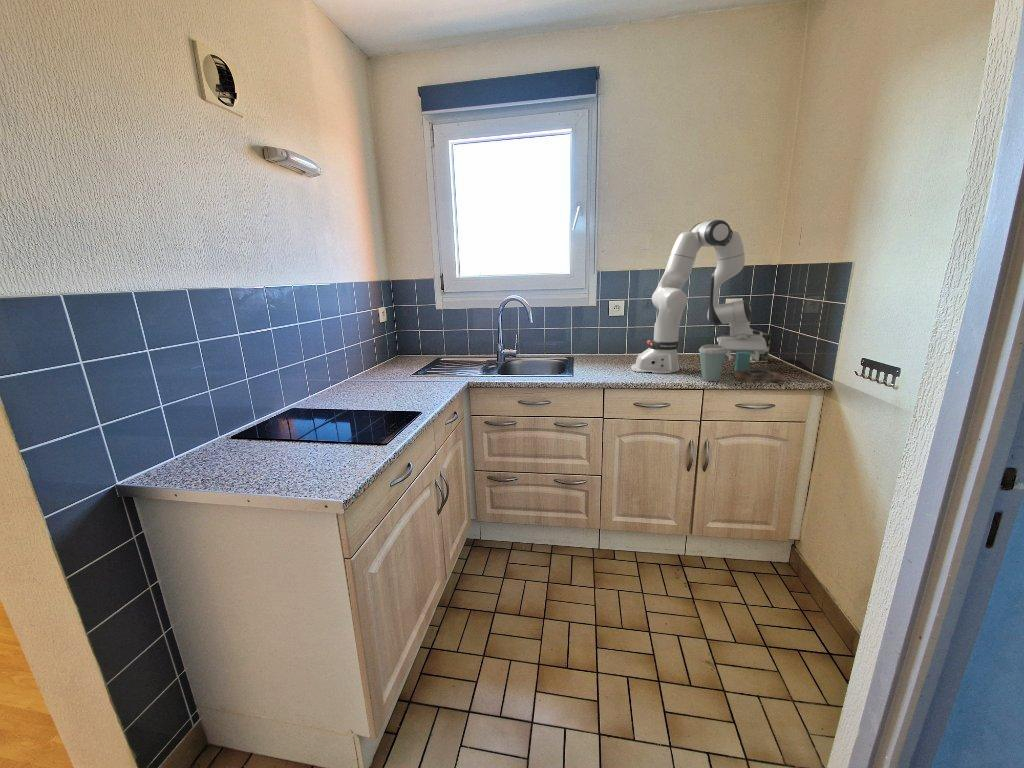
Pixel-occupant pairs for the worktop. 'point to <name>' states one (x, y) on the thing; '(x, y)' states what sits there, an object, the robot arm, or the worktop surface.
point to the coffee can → (764, 356)
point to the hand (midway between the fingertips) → (742, 360)
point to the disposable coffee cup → (712, 361)
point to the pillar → (742, 361)
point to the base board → (758, 375)
